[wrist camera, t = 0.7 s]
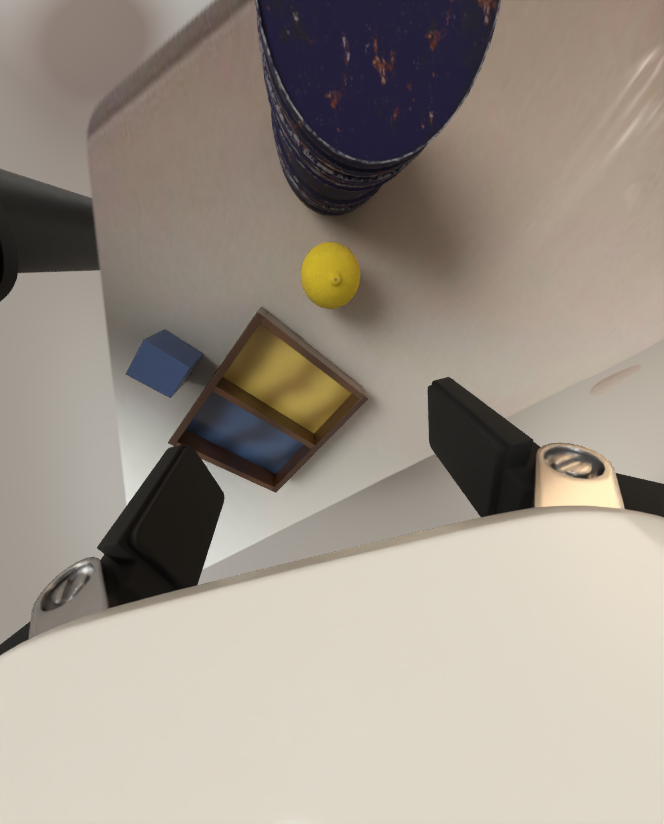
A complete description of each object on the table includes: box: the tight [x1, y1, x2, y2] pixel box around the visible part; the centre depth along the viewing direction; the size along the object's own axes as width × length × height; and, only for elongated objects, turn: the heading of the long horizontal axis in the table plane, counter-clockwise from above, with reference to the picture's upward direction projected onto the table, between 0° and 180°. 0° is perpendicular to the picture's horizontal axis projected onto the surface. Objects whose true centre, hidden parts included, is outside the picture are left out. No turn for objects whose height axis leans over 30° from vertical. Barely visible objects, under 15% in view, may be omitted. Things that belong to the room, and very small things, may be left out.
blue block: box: [126, 330, 203, 398], centre depth 28 cm, size 4×4×4 cm
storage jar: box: [255, 0, 501, 216], centre depth 16 cm, size 10×10×15 cm
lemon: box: [301, 242, 360, 309], centre depth 24 cm, size 6×6×8 cm
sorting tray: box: [168, 307, 368, 492], centre depth 33 cm, size 16×20×4 cm
